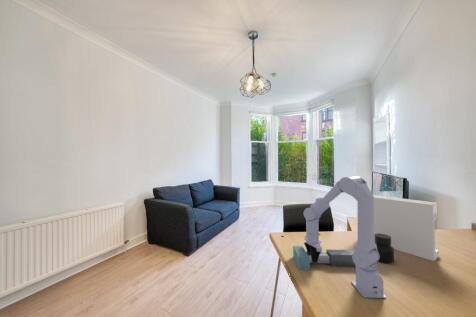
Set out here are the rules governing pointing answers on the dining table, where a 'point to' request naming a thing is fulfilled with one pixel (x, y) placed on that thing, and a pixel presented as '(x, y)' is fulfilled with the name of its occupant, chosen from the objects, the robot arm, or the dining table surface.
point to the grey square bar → (320, 257)
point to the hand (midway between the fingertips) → (312, 259)
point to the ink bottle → (384, 248)
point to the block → (407, 224)
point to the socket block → (301, 258)
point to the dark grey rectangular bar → (341, 258)
